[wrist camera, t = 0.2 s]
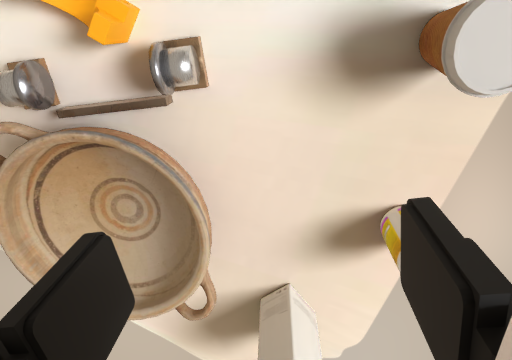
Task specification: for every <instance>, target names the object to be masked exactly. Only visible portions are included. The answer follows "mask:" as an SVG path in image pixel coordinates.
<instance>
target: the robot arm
mask: <svg viewBox="0 0 512 360" xmlns="http://www.w3.org/2000/svg"><path fill="white" fill-rule="evenodd" d="M400 276H401V283H402V287H403V289H404V292H405V294H406V296H407V298H408V301H409V303H410V305H411V307H412V309H413V312H414V314H415V316H416V319H417V321H418V323H419V325H420V327H421V330H422V332H423V334H424V336H425V339H426V341H427V343H428V345H429V347H430V350H431V352H432V354H433V356H434V359H435V360H512V284H511V283H510V282H509V281H508V280H507V278H506V277H505V276H504V275H503V274H502V273H501V272H500V270H499V269H498V268H497V267H496V266H495V265H494V264H493V262H492V261H491V260H490V259H489V258H488V257H487V256H486V254H485V253H484V252H483V251H482V250H481V249H480V248H479V247H478V245H477V244H476V243H475V242H474V241H473V240H472V239H470V238H464V237H463V236H462V235H461V234H460V232H459V231H458V230H457V229H456V228H455V226H454V225H453V224H452V223H451V222H450V221H449V220H448V218H447V217H446V216H445V215H444V214H443V212H442V211H441V210H440V209H439V207H438V206H437V205H436V204H435V203H434V202H433V200H432V199H431V198H430V197H424V198H414V199H408V201H407V204H403V205H401V272H400ZM134 305H135V298H134V295H133V292H132V289H131V287H130V284H129V282H128V279H127V277H126V274H125V272H124V269H123V267H122V264H121V262H120V259H119V256H118V254H117V251H116V249H115V246H114V244H113V241H112V239H111V237H110V236H108V235H106V234H105V233H104V232H93V233H85V234H83V235H82V236H81V237H80V238H79V239H78V240H77V241H76V242H75V243H74V245H73V246H72V247H71V248H70V249H69V250H68V251H67V252H66V253H65V254H64V255H63V256H62V257H61V258H60V259H59V260H58V261H57V262H56V263H55V264H54V265H53V266H52V267H51V268H50V270H49V271H48V272H47V273H46V274H45V275H44V276H43V277H42V278H41V279H40V280H39V281H38V282H37V283H36V284H35V285H34V286H33V287H32V288H31V290H29V291H28V293H27V294H26V295H25V296H24V297H23V298H22V299H21V300H20V301H19V302H18V303H17V304H16V305H15V306H14V307H13V308H12V309H11V310H10V311H9V312H8V313H7V314H6V315H5V316H4V318H3V319H2V320H1V321H0V360H106V359H107V357H108V356H109V354H110V352H111V350H112V348H113V346H114V344H115V342H116V340H117V339H118V337H119V335H120V333H121V331H122V329H123V327H124V325H125V324H126V322H127V320H128V318H129V316H130V314H131V312H132V310H133V308H134Z"/></svg>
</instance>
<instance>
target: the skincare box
mask: <svg viewBox="0 0 512 360" xmlns="http://www.w3.org/2000/svg"><path fill="white" fill-rule="evenodd" d="M258 360H322V353H321V346H320V339H319V333H318V326H317V319H316V312H315V311H314V310H313V309H312V308H311V306H310V305H309V304H308V303H307V302H306V301H305V300H304V299H303V297H302V296H301V295H300V294H299V293H298V292H297V291H296V290H295V289H294V288H293V286H292V285H291V284H288V285H286V286H284V287H282V288H280V289H278V290H276V291H274V292H273V293H271V294H269V295H267V296H265V297H263V298H262V299H261V301H260V323H259V345H258Z"/></svg>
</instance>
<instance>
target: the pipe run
mask: <svg viewBox="0 0 512 360" xmlns="http://www.w3.org/2000/svg"><path fill="white" fill-rule="evenodd" d="M149 62H150V69H151V74H152V77H153V80H154V83H155V85H156V87H157V89H158V91H159V92H160V93H161V94H162V95H161V96H153V97H144V98H136V99H128V100H119V101H111V102H103V103H94V104H86V105H78V106H69V107H65V108H63V109H60V110H57V111H56V112H57V114H58V117H59V118H66V117H75V116H83V115H92V114H100V113H109V112H118V111H126V110H135V109H144V108H152V107H161V106H168V105H169V104H170V103H172V102H173V100H172V96H171V94H173V93H174V91H181V90H189V89H197V88H206V87H208V86H209V84H208V78H207V72H206V67H205V61H204V56H203V50H202V44H201V39H200V37H192V38H185V39H178V40H171V41H164V42H156V43H153V44H152V45H151V47H150V51H149ZM7 65H8V67H9V70H7V71H0V102H1V103H2V104H4V105H6V106H8V107H16V106H24V107H25V109H33V110H45V109H48V108H50V107H51V106H55V105H58V104H60V102H59V99H58V96H57V93H56V91H55V88H54V84H53V81H52V78H51V76H50V74H49V71H48V68H47V65H46V62H45V60H44V58H42V59H35V60H27V61H20V62H13V63H7Z"/></svg>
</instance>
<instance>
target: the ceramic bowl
mask: <svg viewBox="0 0 512 360" xmlns="http://www.w3.org/2000/svg"><path fill="white" fill-rule="evenodd" d="M3 133H8V134H14V135H17V136H20V137H23V138H25V139H26V140H28V142H26V143H25V144H23V145H21V146H20V147H18V148H17V149H15V151H14V152H13V153H12V154H11V155H10V156H9V157H8V158H7V159H6V158H4V157H3V156H1V155H0V243H1V245H2V247H3V249H4V251H5V253H6V255H7V256H8V257H9V259H10V260H11V261H12V263H13V264H14V266H15V267H16V268H17V269H18V270H19V271H20V273H21V274H22V275H23V276H24V277H25V278H26V279H27V280H28V281H29V282H30V283H32V284H33V285H35V284H36V283H37V282H38V281H39V280H40V279H41V278H42V277H43V276H44V275H45V274H46V273H47V272H48V271H49V270H50V268H51V267H52V266H53V265H54V264H55V263H56V262H57V261H58V260H59V259H60V258H61V257H62V256H63V255H64V254H65V253H66V252H67V251H68V250H69V249H70V248H71V247H72V246H73V245H74V243H75V242H76V241H77V240H78V239H79V238H80V237H81V236H82V235H83V234H85V233H93V232H104V233H105V234H106V235H108V236H110V237H111V239H112V241H113V244H114V246H115V249H116V251H117V254H118V256H119V259H120V262H121V264H122V267H123V269H124V272H125V274H126V277H127V279H128V282H129V284H130V287H131V289H132V292H133V295H134V298H135V305H134V308H133V310H132V312H131V314H130V316H129V318H128V320H141V319H146V318H151V317H156V316H159V315H161V314H164V313H167V312H169V311H171V310H173V309H176V310H177V311H178V312H179V313H180V314H181V315H182V316H183V317H185V318H186V319H188V320H199V319H203V318H205V317H207V316H208V315H209V314H210V312H211V311H212V309H213V308H214V306H215V304H216V291H215V288H214V285H213V283H212V281H211V279H210V276H209V273H208V270H207V269H208V264H209V258H210V253H211V252H210V249H211V244H212V239H211V223H210V218H209V214H208V210H207V207H206V204H205V202H204V200H203V197H202V195H201V193H200V190H199V189H198V187H197V186H196V184H195V183H194V181H193V180H192V178H191V177H190V175H189V174H188V173H187V172H186V171H185V170H184V169H183V168H182V167H181V165H180V164H179V163H178V162H177V161H175V160H174V159H173V158H172V157H171V156H169V155H168V154H167V153H166V152H164V151H163V150H162V149H160V148H158V147H156V146H155V145H153V144H151V143H150V142H148V141H146V140H144V139H141V138H139V137H136V136H134V135H131V134H129V133H125V132H121V131H116V130H112V129H107V128H94V127H80V128H72V129H64V130H60V131H57V132H52V133H49V132H44V131H41V130H37V129H34V128H32V127H29V126H26V125H22V124H18V123H13V122H1V123H0V134H3ZM199 285H201V286H202V287H203V289H204V291H205V293H206V296H207V304H206V305H205V307H204V308H203V309H201V310H193V309H191V308H189V307H188V306H187V305H186V304H185V303H184V302H185V301H186V300H187V299H188V298H189V297H191V296H192V295H193V294H194V292H195V291H196V289H197V288H198V287H199Z"/></svg>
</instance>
